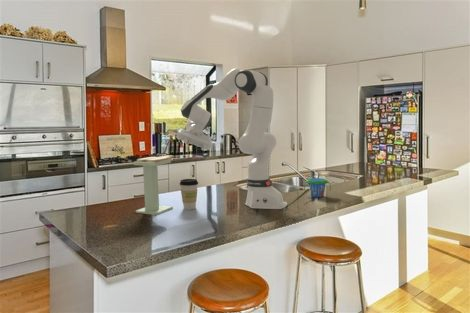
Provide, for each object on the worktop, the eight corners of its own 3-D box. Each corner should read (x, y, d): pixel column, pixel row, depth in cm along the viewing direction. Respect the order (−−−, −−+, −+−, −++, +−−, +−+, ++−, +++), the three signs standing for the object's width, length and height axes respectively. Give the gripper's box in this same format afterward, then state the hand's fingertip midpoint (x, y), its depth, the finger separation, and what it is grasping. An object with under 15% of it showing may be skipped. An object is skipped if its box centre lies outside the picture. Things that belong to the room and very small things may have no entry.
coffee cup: (195, 210, 193) (194, 182, 191) (177, 210, 195) (176, 181, 193) (201, 206, 202) (200, 178, 201) (183, 205, 204) (183, 178, 202)
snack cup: (302, 197, 219) (302, 180, 218) (305, 193, 229) (305, 177, 228) (329, 199, 214) (330, 181, 212) (331, 195, 223) (331, 178, 222)
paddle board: (179, 157, 204) (179, 155, 203) (156, 162, 185) (156, 160, 185) (161, 157, 209) (161, 155, 209) (136, 161, 190) (136, 159, 190)
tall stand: (172, 208, 198) (171, 159, 195) (156, 215, 186) (154, 163, 183) (152, 206, 204) (150, 158, 201) (135, 212, 191) (133, 162, 188)
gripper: (179, 123, 211) (179, 134, 199) (212, 136, 217) (214, 147, 206) (174, 132, 213) (175, 144, 201) (207, 145, 220) (209, 156, 208)
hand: (195, 146), depth 204 cm, fingers open, 8 cm apart
